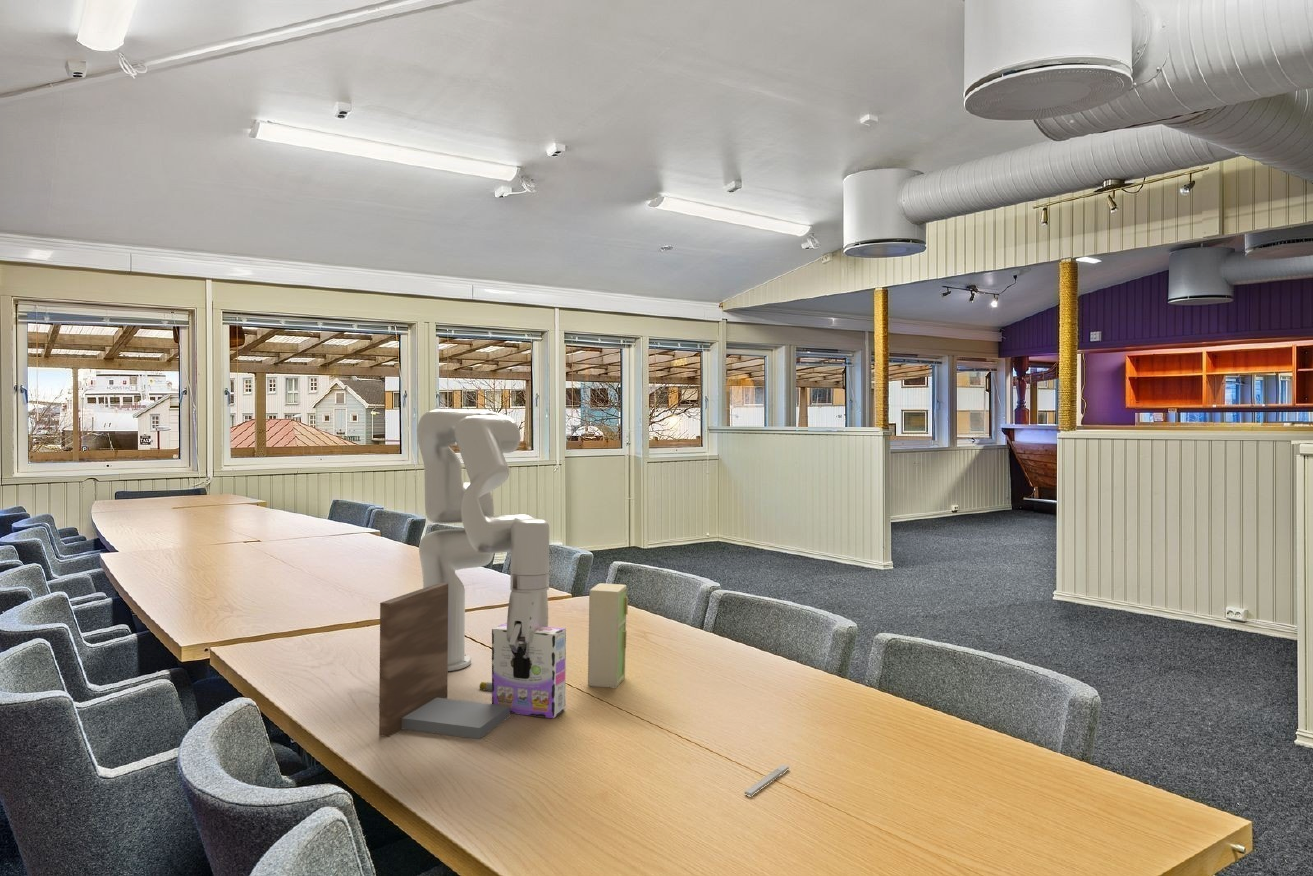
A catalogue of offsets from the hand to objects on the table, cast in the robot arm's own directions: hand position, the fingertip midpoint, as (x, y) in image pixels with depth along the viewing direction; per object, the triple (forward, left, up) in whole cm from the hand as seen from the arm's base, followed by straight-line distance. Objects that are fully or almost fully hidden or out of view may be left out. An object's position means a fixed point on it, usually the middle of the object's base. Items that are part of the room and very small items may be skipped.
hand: (528, 672), depth 159 cm
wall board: (-19, -10, -8) cm, 23 cm away
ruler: (+50, -18, -8) cm, 54 cm away
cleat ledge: (-10, -10, -8) cm, 16 cm away
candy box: (0, 0, -8) cm, 8 cm away
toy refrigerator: (+9, +22, -8) cm, 25 cm away
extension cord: (-7, +12, -8) cm, 16 cm away
